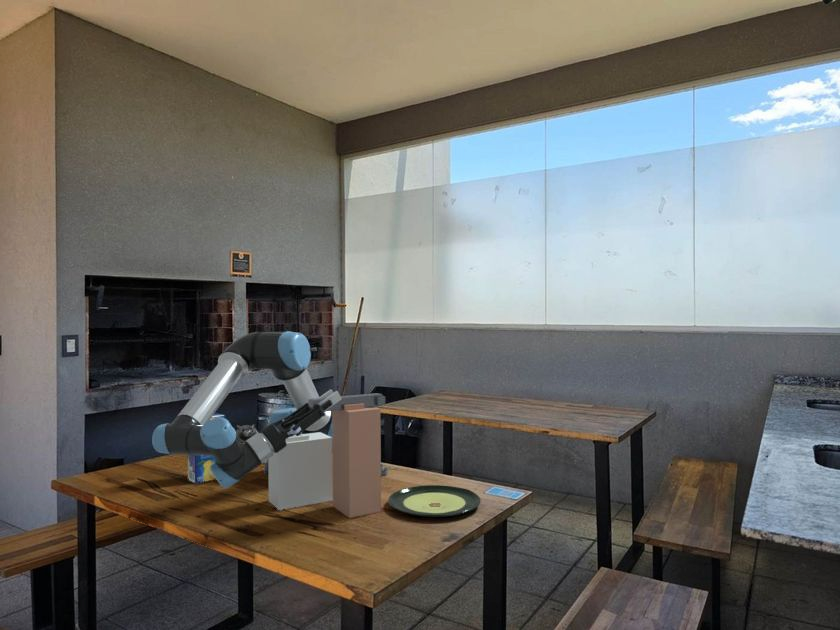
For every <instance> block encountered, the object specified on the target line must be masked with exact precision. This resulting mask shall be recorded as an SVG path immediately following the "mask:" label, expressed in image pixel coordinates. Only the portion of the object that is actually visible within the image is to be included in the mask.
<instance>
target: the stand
mask: <svg viewBox="0 0 840 630" xmlns="http://www.w3.org/2000/svg"><path fill="white" fill-rule="evenodd" d="M331 413H332V428H333V446H332V485H333V501H332V507H334V508H335V509H336V510H338V511H340V513H342V514H343V515H345V516H346V517H348V518H349V519H352V518H357V517H362V516H366V515H371V514H376V513H381V512H382V476H381V464H382V462H381V461H382V460H381V459H382V458H381V457H382V456H381V454H382V451H381V449H382V448H381V445H382V444H381V443H382V442H381V439H382V438H381V437H382V436H381V430H382V429H381V428H382V427H381V408H378V407H368V408H364V404H363V403H361V404H350V405H344V410H337V411H331Z"/></svg>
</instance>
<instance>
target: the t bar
mask: <svg viewBox="0 0 840 630" xmlns="http://www.w3.org/2000/svg"><path fill="white" fill-rule="evenodd" d="M340 396H341V395H340ZM326 398H327V397H326ZM326 398H314V399H309V411H310V410H312V409H313V408H315V407H317V406H318V405H319V403H320V402H322V401H323V400H324V399H326ZM341 398H342V399H341V400H340V401H339V402H337V403H336V404H334V405H333V406H332V407H330V408H329V409H327V410H326V411H325V412H327V411H331V412H332V411H337V410H344V405H350V404H361V403H363V404H364V408H368V407H376V408H378V407H383V406H386V395H385V396H384V395H383V393H380V392H379V393H377V392H375V393H364V394H353V395H350V394H349V395H342V396H341Z"/></svg>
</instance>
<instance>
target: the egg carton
mask: <svg viewBox="0 0 840 630" xmlns="http://www.w3.org/2000/svg"><path fill="white" fill-rule="evenodd" d="M389 469H391V467H390V466H387V465H383V463H381V477H382V476H389Z"/></svg>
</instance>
